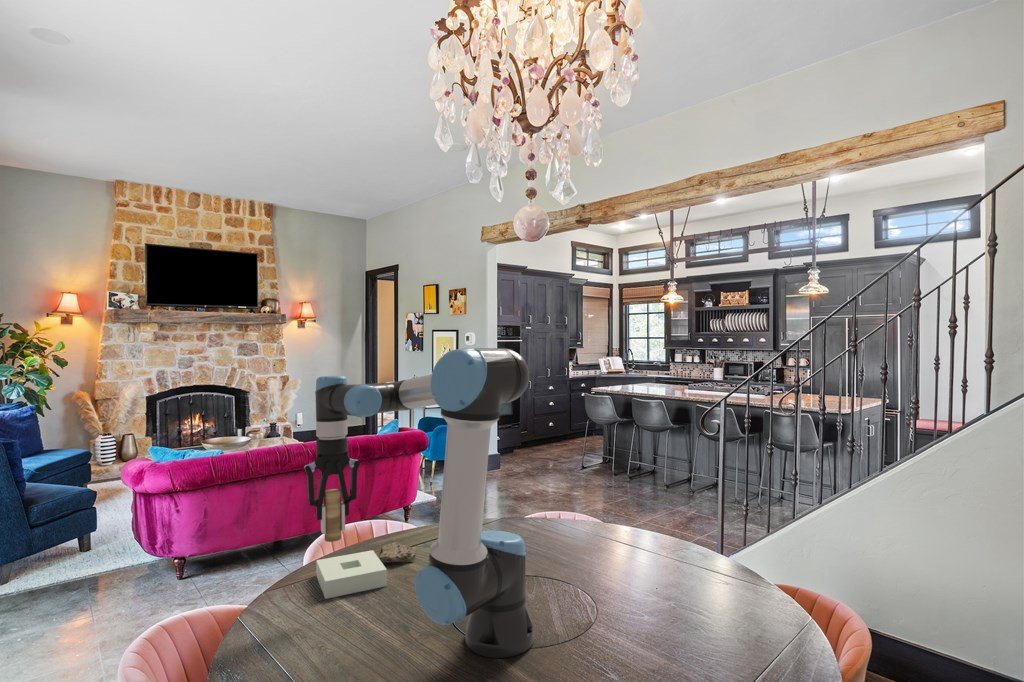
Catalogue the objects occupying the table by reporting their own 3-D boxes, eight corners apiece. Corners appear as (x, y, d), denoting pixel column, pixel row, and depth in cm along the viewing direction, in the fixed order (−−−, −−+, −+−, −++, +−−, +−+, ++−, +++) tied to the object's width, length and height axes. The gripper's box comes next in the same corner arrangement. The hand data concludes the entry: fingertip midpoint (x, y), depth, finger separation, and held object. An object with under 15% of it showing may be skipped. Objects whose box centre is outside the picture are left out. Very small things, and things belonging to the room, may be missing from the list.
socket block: (386, 585, 148) (386, 569, 148) (325, 598, 141) (325, 581, 141) (372, 565, 162) (372, 550, 162) (316, 576, 155) (316, 560, 155)
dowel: (342, 539, 136) (342, 491, 136) (326, 542, 134) (325, 493, 134) (339, 535, 139) (339, 488, 140) (323, 538, 138) (323, 490, 138)
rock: (411, 567, 161) (411, 553, 161) (373, 567, 161) (373, 552, 162) (418, 554, 171) (418, 540, 171) (384, 554, 172) (384, 540, 172)
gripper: (362, 432, 145) (363, 521, 144) (294, 438, 137) (295, 532, 136) (369, 436, 138) (370, 529, 137) (297, 442, 130) (298, 541, 130)
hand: (333, 530), depth 137 cm, fingers closed on dowel, 4 cm apart
